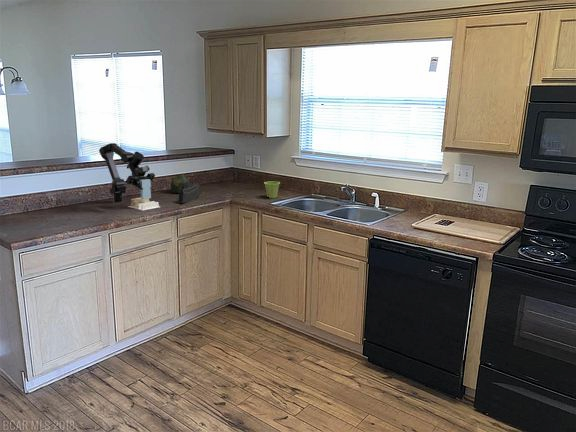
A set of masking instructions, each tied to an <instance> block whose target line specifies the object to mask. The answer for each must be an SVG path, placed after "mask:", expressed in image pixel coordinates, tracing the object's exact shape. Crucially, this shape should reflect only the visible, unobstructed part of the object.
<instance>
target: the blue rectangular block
mask: <svg viewBox="0 0 576 432" xmlns="http://www.w3.org/2000/svg"><path fill="white" fill-rule="evenodd" d="M139 182H140V184H141V186H142V187H143V190H141V189H140V198H141V199H149V200H150V199H152V192H151V191H152V188H151V187H150V179H146V180H145V179H144V180H139Z"/></svg>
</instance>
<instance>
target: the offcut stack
mask: <svg viewBox="0 0 576 432" xmlns="http://www.w3.org/2000/svg"><path fill="white" fill-rule="evenodd" d="M130 202H131V204H130V206H133V207H137V208H138V204H140V203H146V202H151V200H150V198H149V199H141V197H135V198H131V199H130Z"/></svg>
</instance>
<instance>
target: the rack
mask: <svg viewBox="0 0 576 432" xmlns="http://www.w3.org/2000/svg"><path fill="white" fill-rule="evenodd" d="M127 208H132V209H135V210H140V211H146V210H152V209H157V208H161V205H159V202H158V201H154V200H153V201H151V200H150V202H146V203H140V204H138V208H137V207H133V206H131V205H128V206H127Z"/></svg>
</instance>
